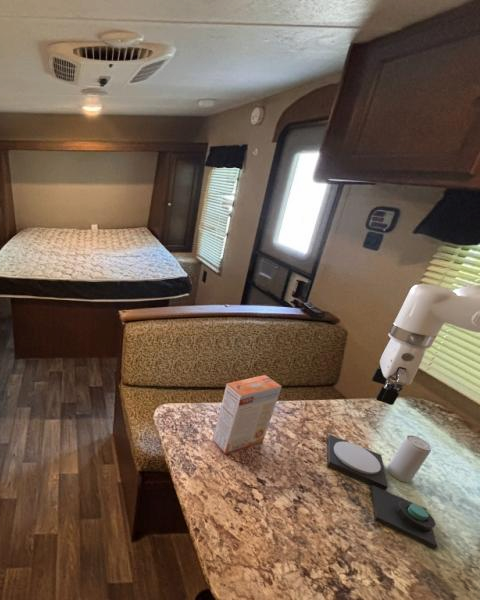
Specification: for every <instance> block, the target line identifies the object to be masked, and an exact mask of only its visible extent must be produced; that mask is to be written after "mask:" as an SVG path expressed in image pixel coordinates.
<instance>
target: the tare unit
mask: <svg viewBox="0 0 480 600" xmlns="http://www.w3.org/2000/svg"><path fill="white" fill-rule="evenodd" d="M369 492H370V498H371V506H372V511H373V518H374V521H375V522H376V523H379V524H380V525H383V526H384V527H386V528H389V529H391V530H393V531H395V532H397V533H400V534H401V535H403V536H404V537H405V536H406V537H407V538H410V539H412V540H413V541H416V542H418V543H420V544H423V545H424V546H427V547H428V548H430V549H433V550H436V549H437V547H438V541H437V539H436V536H435V533H434V528H435V527H436V525H437V524H436V520H435V518H434V517H433V516H432V515H431V514H430V513H429V512H428V510H427V508H426V507H423V506H421V505H419V504H417V503H414V502H412V501H410V500H407V499H405V498H403V497H401V496H398V495H396V494H394V493H392V492H390V491H387V490H386V491H385V490H382V489H380V488H378V487H376V486H373V485H372V486H370V488H369ZM411 504H416V505H418V506H420V507H422V508H423V509H425V510H426V511H427V513H428V517H427V519H426V520H425V521H419V520H417V519H415V518H414V517H413V516H411V515H410V514H409V513H408V510H407V509H408V508H409V506H410V505H411Z"/></svg>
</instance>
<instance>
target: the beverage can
mask: <svg viewBox="0 0 480 600" xmlns="http://www.w3.org/2000/svg"><path fill="white" fill-rule="evenodd" d="M431 452H432V445H431V444H430V443H429V442H428V441H426V440H424V439H422V438H420V437H419V436H417V435H412V434H411V435H407V436H406V437H404V439H403V440H402V442H401V444H400V446H399V447H398V449H397V451H396V452H395V454H394V456H393V457H392V459H391V460H390V462H389V464H388V466H387V467H386V469H387V472H388V473H389V475H390V476H391V477H393V478H394V479H395V480H397V481H399V482H401V483H402V482H403V483H410V482H412V480H413V479H414V477H415V476H416V474H417V473H418V471H419V469H420V468H421V467H422V465H423V464H424V463H425V461H426V459H427V458H428V456H429V454H430V453H431Z"/></svg>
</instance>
